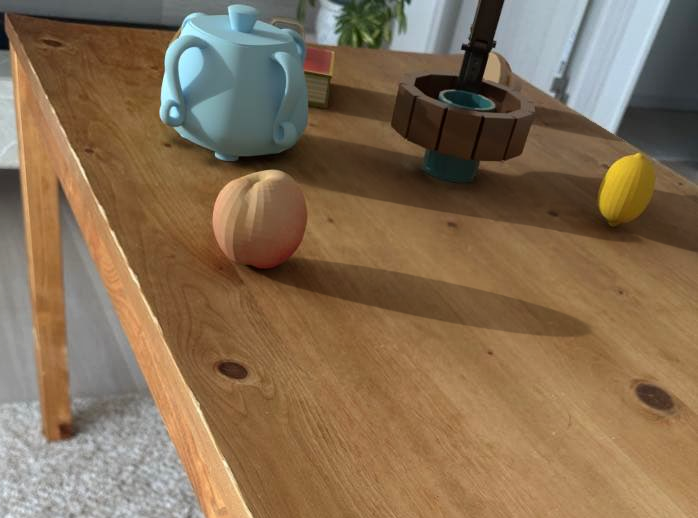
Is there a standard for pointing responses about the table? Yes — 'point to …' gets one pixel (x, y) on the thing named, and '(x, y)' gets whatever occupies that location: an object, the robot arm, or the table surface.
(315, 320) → the table surface
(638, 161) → the lemon
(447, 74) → the ring
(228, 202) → the fruit
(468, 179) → the tumbler
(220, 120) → the decorative pot
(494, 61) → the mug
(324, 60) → the hardcover book
